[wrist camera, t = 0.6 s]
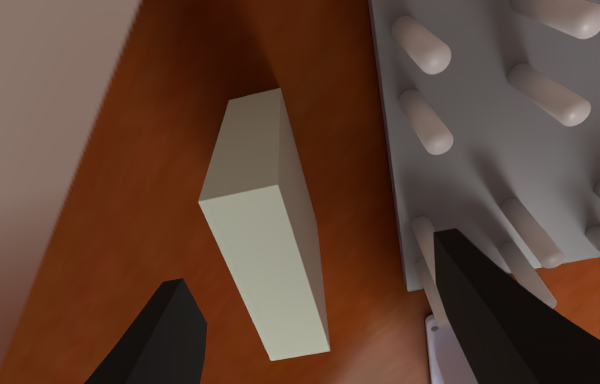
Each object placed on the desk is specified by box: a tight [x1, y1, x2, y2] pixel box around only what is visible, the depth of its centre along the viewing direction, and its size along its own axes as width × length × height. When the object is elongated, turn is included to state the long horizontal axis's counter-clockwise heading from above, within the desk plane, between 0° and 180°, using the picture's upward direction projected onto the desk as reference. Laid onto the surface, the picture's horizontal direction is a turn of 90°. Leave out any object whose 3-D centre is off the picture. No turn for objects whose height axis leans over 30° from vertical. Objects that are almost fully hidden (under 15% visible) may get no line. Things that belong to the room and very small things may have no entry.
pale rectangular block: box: [198, 88, 330, 361], centre depth 17 cm, size 8×2×8 cm, turn 13°
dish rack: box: [368, 0, 600, 329], centre depth 18 cm, size 17×16×5 cm
